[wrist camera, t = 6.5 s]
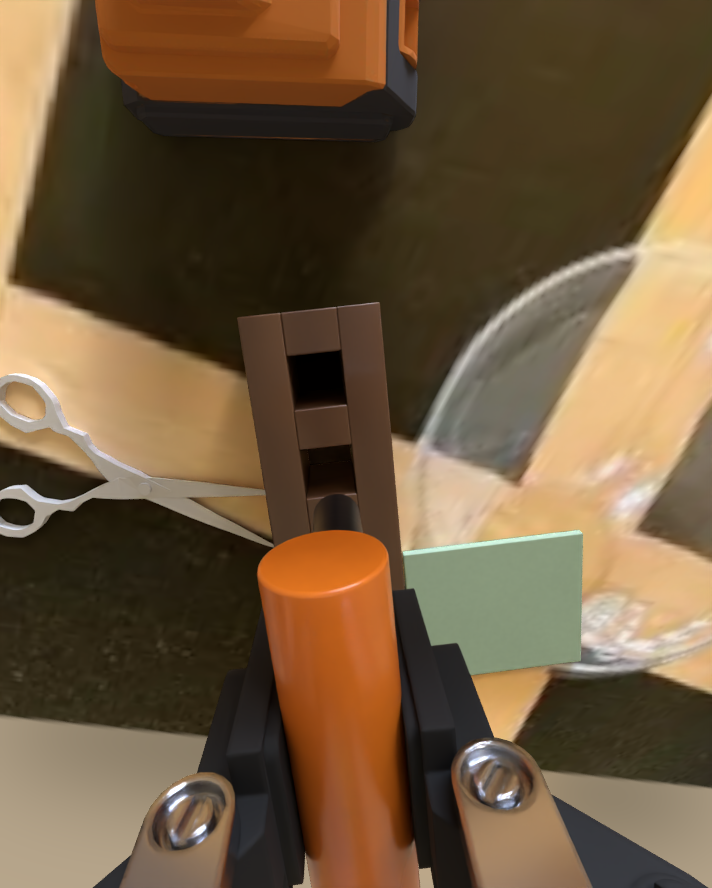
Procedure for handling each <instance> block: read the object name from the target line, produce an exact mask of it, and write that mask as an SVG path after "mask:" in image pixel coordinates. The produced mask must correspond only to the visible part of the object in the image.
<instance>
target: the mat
mask: <svg viewBox="0 0 712 888" xmlns="http://www.w3.org/2000/svg"><path fill="white" fill-rule="evenodd" d="M582 558H583V533H582V532H581V531H579V530H574V531H566V532H558V533H550V534H542V535H533V536H525V537H517V538H509V539H501V540H493V541H485V542H477V543H468V544H460V545H452V546H444V547H436V548H428V549H420V550H412V551H403V565H404V576H405V588H406V589H411V588H414V589H415V592H416V596H417V599H418V603H419V606H420V609H421V613H422V616H423V619H424V623H425V626H426V630H427V633H428V636H429V640H430V643H431V646H434V645H442V644H451V643H457V644H458V645H459V647H460V649H461V652H462V654H463V657H464V660H465V662H466V665H467V668H468V670H469V673H470V675H478V674H485V673H493V672H501V671H508V670H516V669H523V668H531V667H539V666H546V665H554V664H561V663H569V662H577V661H581V613H582Z"/></svg>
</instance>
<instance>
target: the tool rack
mask: <svg viewBox="0 0 712 888" xmlns="http://www.w3.org/2000/svg"><path fill="white" fill-rule="evenodd" d="M237 321H238V327H239V333H240V339H241V345H242V352H243V358H244V364H245V370H246V376H247V383H248V389H249V395H250V401H251V407H252V413H253V420H254V426H255V432H256V438H257V444H258V451H259V457H260V463H261V469H262V475H263V481H264V488H265V494H266V500H267V506H268V512H269V519H270V525H271V531H272V537H273V543H274V548H275V547H276V546H278V545H280V544H281V543H283V542H285V541H287V540H290V539H292V538H295V537H298V536H301V535H305V534H309V533H313V516H314V509H315V507H316V505H317V504H318V502H319V501H320V500H321V499H322V498H324V497H326V496H328V495H331V494H343V495H346V496H348V497H350V498H351V499H353V500H354V501H355V502H356V504H357V506H358V508H359V512H360V517H361V523H362V529H363V533H365V534H368V535H371V536H373V537H375V538H376V539H378V540H379V541H380V542H382V543H383V545H384V546H385V548H386V549H387V552H388V555H389V565H390V576H391V586H392V591H394V590H403V589H405V587H404V576H403V564H402V553H401V542H400V530H399V519H398V507H397V496H396V485H395V473H394V462H393V450H392V439H391V427H390V416H389V405H388V393H387V382H386V370H385V359H384V348H383V336H382V325H381V313H380V303H379V302H376V303H367V304H357V305H348V306H339V307H337V308H336V307H329V308H320V309H311V310H301V311H292V312H283V313H273V314H264V315H255V316H245V317H238V319H237ZM332 351H339V354H340V363H341V372H342V381H343V388H335V389H326V390H317V391H308V392H301V393H300V388H299V380H298V373H297V365H296V358H295V355H304V354H314V353H323V352H332ZM348 444H350V453H351V461H341V462H333V463H324V464H315V465H310V462H309V455H308V449H313V448H322V447H330V446H339V445H348Z"/></svg>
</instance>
